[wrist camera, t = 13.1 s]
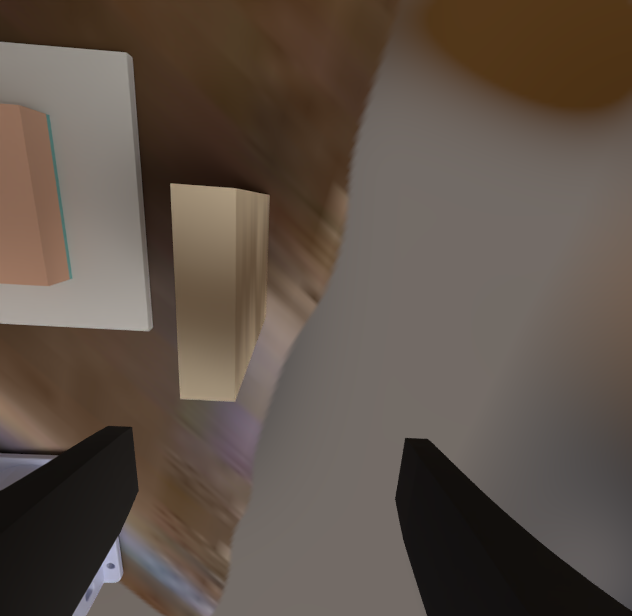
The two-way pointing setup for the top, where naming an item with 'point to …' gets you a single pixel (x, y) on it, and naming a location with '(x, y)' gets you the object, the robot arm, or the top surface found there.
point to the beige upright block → (218, 285)
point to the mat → (86, 186)
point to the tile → (30, 201)
